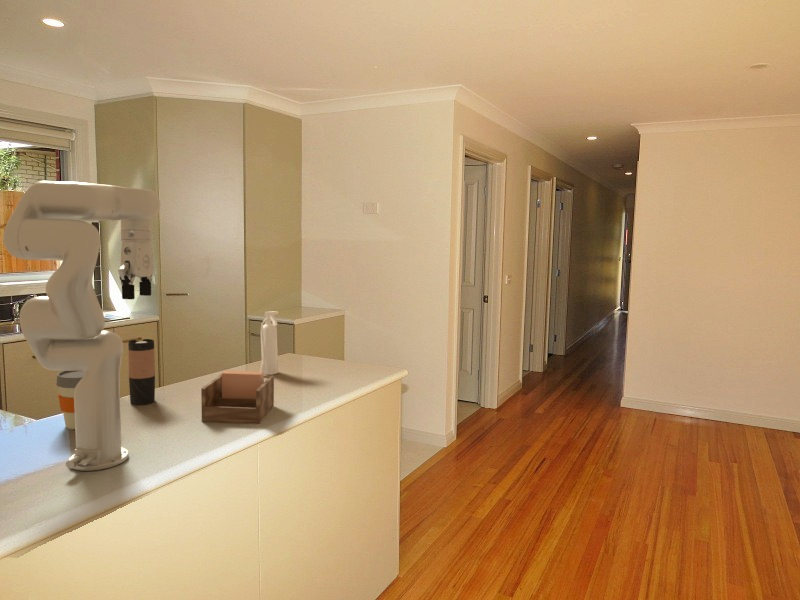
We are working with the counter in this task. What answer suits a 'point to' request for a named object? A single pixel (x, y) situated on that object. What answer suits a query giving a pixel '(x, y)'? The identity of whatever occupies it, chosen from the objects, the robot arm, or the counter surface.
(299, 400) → the counter surface
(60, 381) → the reusable coffee cup
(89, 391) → the robot arm
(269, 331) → the white spray bottle
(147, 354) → the travel mug
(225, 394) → the peach rectangular block
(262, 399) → the wooden crate
